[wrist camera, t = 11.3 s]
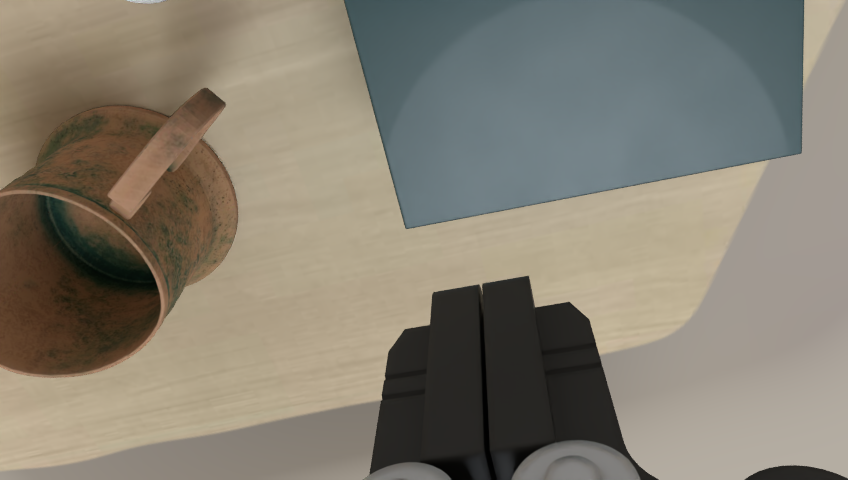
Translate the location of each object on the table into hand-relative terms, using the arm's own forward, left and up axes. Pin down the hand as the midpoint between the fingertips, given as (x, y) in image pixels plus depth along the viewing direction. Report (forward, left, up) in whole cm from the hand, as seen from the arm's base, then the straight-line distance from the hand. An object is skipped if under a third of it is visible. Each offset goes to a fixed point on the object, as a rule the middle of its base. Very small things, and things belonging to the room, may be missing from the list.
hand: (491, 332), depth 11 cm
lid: (-3, -2, -17) cm, 18 cm away
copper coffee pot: (+14, +12, -28) cm, 33 cm away
